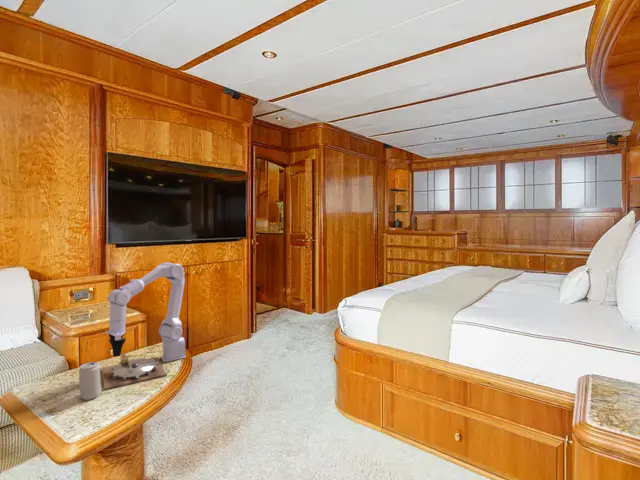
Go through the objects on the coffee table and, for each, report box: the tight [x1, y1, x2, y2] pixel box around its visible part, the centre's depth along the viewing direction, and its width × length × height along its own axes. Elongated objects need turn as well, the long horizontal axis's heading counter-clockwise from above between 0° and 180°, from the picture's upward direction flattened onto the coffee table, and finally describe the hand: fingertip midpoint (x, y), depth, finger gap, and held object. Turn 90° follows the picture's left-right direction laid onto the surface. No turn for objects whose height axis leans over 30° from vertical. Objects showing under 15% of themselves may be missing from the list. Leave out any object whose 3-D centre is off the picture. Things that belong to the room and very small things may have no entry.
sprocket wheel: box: [110, 352, 158, 380], centre depth 154 cm, size 18×18×6 cm
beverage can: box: [78, 361, 102, 401], centre depth 134 cm, size 6×6×12 cm
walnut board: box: [101, 356, 167, 391], centre depth 154 cm, size 22×21×2 cm
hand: (116, 353), depth 148 cm, fingers open, 7 cm apart
